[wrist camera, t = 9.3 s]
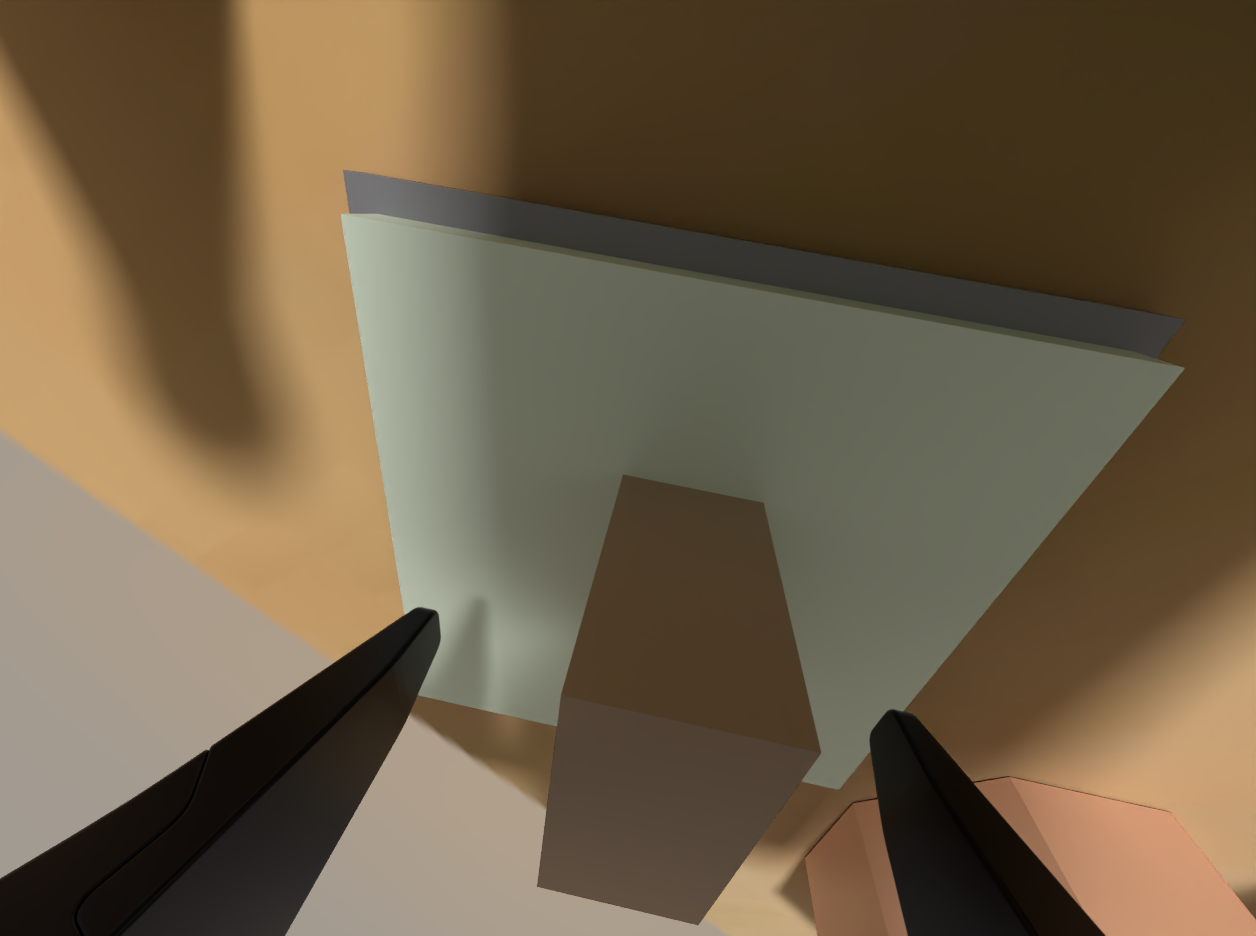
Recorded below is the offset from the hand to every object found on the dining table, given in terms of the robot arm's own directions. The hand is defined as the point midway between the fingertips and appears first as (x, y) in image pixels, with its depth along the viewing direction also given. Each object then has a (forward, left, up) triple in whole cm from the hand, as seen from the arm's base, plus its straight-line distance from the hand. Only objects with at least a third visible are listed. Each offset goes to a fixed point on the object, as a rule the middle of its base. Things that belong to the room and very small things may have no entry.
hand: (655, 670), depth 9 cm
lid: (0, 0, -3) cm, 3 cm away
